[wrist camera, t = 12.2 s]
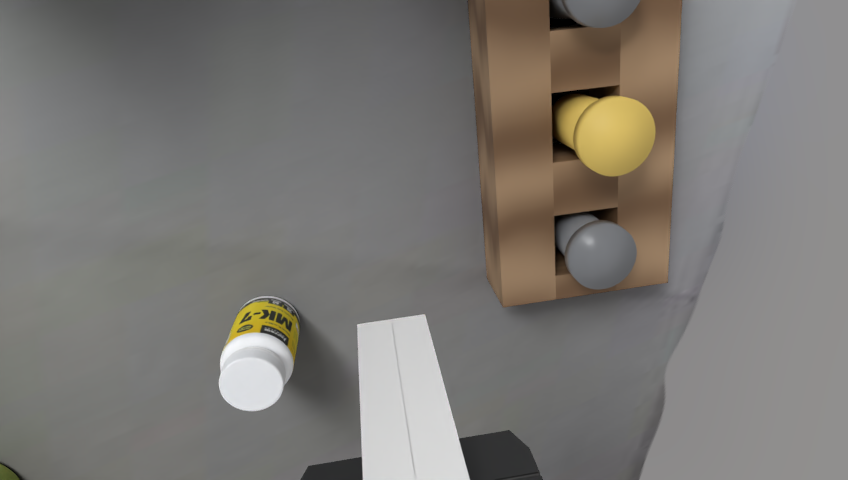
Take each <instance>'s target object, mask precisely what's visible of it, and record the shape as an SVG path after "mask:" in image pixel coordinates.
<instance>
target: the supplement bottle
mask: <svg viewBox="0 0 848 480" xmlns="http://www.w3.org/2000/svg"><path fill="white" fill-rule="evenodd" d="M299 332H300V319H299V316H298V314H297V312H296V310H295V309H294V307H293V306H292V305H291V304H289V303H288V302H287V301H285V300H283V299H281V298H278V297H273V296H262V297H257V298H254V299H252V300H250V301H248V302H247V303H246V304H245V305H244V306H243V307H242V308H241V309H240V311H239V312H238V314H237V317H236V319H235V322H234V324H233V327H232V329H231V332H230V334H229V337H228V339H227V342H226V344H225V347H224V349H223V352H222V355H221V359H220V369H221V374H220V378H219V389H220V392H221V394H222V396H223V398H224V399H225V400H226V401H227V402H228V403H229V404H230V405H232V406H233V407H235V408H238V409H241V410H244V411H259V410H263V409H266V408H268V407H270V406H271V405H273V404H274V403H275V402H276V401H277V400H278V399H279V398H280V396H281V394H282V392H283V388H284V385H285V384H286V383H287V381H288V380H289V378H290V377H291V374H292V372H293V367H294V361H295V355H296V349H297V343H298V337H299Z"/></svg>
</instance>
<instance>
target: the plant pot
mask: <svg viewBox="0 0 848 480" xmlns="http://www.w3.org/2000/svg"><path fill="white" fill-rule="evenodd" d="M0 480H20V479H19V478H18V477H17V476H16V474H14V473H13V472H12V471H11V470H10V469H8V468H7V467H5V466H3V465H2V464H0Z"/></svg>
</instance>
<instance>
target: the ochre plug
mask: <svg viewBox="0 0 848 480" xmlns="http://www.w3.org/2000/svg"><path fill="white" fill-rule="evenodd" d="M552 136H553V137H554V138H555V139H556V140H557V141H559V142H561V143H563V144H565V145H566V146H568V147H570V148H572V149H574V150H575V152H576V154H577V156H578V158H579V159H580V161H581V162H582V163H583V164H584V165H585V166H587V167H588V168H590V169H591V170H593V171H595V172H597V173H598V174H601V175H604V176H620V175H624V174H627V173H629V172H631V171H633V170H634V169H636V168H637V167H638V166H640V165H641V164H642V163H643V162H644V161H645V159H646V158H647V157H648V155H649V153H650V151H651V149H652V147H653V144H654V140H655V123H654V119H653V117H652V115H651V113H650V111H649V110H648V109H647V108H646V106H644V105H643V104H642V103H640V102H639V101H637V100H634V99H631V98H627V97H623V96H616V95H615V96H607V97H603V98H601V99H597V98H594V97H590V96H587V95H584V94H580V93H570V94H567V95H564V96H562V97H561V98H559V99H558V100H557V101H556V102H555V103H554V105H553V106H552Z"/></svg>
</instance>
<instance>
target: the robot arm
mask: <svg viewBox="0 0 848 480" xmlns="http://www.w3.org/2000/svg"><path fill="white" fill-rule="evenodd" d="M357 333H358V361H359V388H360V415H361V442H362V457H359V458H353V459H347V460H341V461H336V462H330V463H324V464H318V465H312V466H308V468H307V470H306V472H305V473H304V475H303V477H302V478H301V480H543V479H542V477H541V476H540V473H539V470H538V467H537V465H536V463H535V460H534V458H533V456H532V453H531V451H530V449H529V447H527V446H526V445H525V444H524V443H523V442H522V441H521V440H520V439H518V438H517V437H516V436H515V435H514V434H513V433H512V432H511V431H509V430H508V431H502V432H496V433H490V434H484V435H478V436H472V437H466V438H460V439H459V438H458V434H457V431H456V427H455V423H454V420H453V416H452V412H451V408H450V405H449V401H448V397H447V394H446V390H445V386H444V383H443V379H442V375H441V372H440V368H439V364H438V361H437V357H436V353H435V350H434V346H433V342H432V339H431V335H430V331H429V327H428V324H427V320H426V316H425V314H423V315H416V316H410V317H403V318H396V319H390V320H383V321H376V322H370V323H363V324H357Z"/></svg>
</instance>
